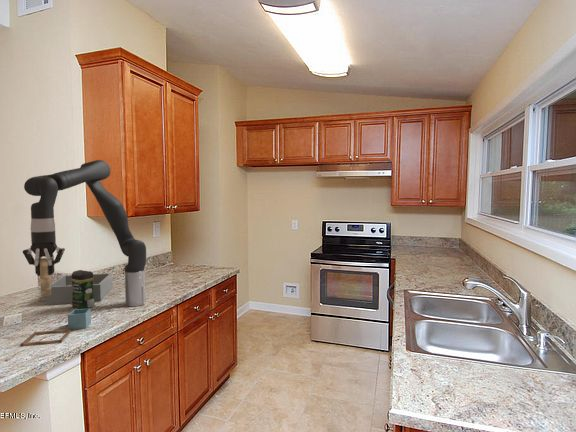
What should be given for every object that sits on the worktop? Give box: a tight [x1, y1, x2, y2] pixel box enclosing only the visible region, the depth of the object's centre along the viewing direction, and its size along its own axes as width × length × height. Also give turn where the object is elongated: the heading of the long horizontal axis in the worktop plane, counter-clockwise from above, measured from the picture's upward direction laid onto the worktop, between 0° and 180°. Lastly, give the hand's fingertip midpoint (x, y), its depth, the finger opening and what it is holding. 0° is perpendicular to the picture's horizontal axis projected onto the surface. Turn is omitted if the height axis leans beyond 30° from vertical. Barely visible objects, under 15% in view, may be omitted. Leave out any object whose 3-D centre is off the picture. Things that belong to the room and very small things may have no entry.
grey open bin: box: [44, 273, 114, 306], centre depth 188 cm, size 25×25×9 cm
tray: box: [20, 328, 73, 347], centre depth 132 cm, size 13×11×2 cm
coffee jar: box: [71, 269, 95, 310], centre depth 169 cm, size 10×8×19 cm
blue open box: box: [67, 307, 92, 331], centre depth 144 cm, size 7×7×7 cm
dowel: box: [39, 257, 52, 297], centre depth 130 cm, size 3×3×14 cm
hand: (45, 274), depth 130 cm, fingers closed on dowel, 3 cm apart
